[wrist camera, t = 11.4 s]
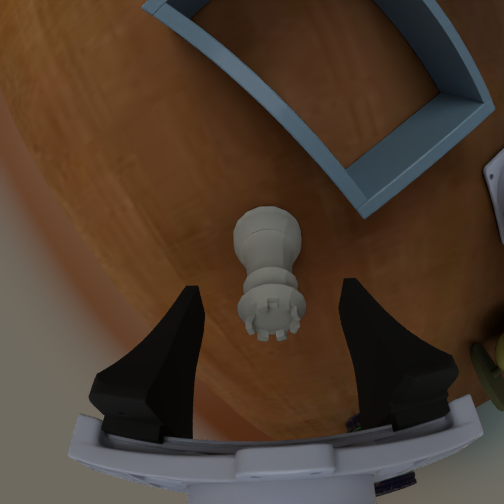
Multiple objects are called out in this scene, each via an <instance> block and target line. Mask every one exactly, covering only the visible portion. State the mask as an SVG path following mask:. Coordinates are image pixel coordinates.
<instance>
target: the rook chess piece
mask: <svg viewBox="0 0 504 504" xmlns="http://www.w3.org/2000/svg"><path fill="white" fill-rule="evenodd" d="M233 236H234V239H233V240H234V251H235V253H236V255H237V257H238V259H239V260H240V262H241V263H242V264H243V265H244V267H245V268H246V271H247V278H246V280H245V282H244V285H243V289H244V295H243V296H242V297H241V299H240V301H239V303H238V305H237V306H238V315H239V317H240V318H241V319H242V321H243V322H244V323H245V324H246V330H247V332H248V333H249V334H250V335H252V334H254V333H255V331H256V332H258V340H262V341H266V342H267V341H268V338H269V336H268V334H276V336H277V341H281V340H284V339H287V331H288V330H290V332H292V333H294V334H295V333H296V332H297V331H298V329H299V328H300V324H299V321H300V320H301V318H302V317H303V315H304V314H305V311H306V302H305V299H304V297H303V295H302V294H301V293H300V292H298V291H297V290H298V282H297V280H296V278H295V276H294V275H293V274H292V265H293V263H294V262H295V260H296V259H297V257H298V255H299V253H300V250H301V240H302V237H301V230H300V227H299V225H298V222H297V220H296V219H295V218H294V217H293V216H292V215H291V214H290V213H289V212H287V211H285V210H283V209H280V208H277V207H274V206H270V207H258V208H255V209H253V210H250V211H248V212H246V213H245V214H244V215H243V216H242V217H241V218H240V219H239V220H238V221H237V224H236V226H235V229H234V231H233Z"/></svg>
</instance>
